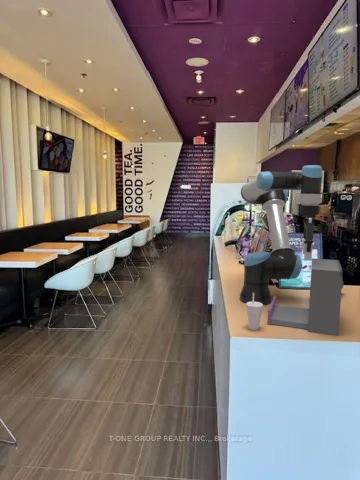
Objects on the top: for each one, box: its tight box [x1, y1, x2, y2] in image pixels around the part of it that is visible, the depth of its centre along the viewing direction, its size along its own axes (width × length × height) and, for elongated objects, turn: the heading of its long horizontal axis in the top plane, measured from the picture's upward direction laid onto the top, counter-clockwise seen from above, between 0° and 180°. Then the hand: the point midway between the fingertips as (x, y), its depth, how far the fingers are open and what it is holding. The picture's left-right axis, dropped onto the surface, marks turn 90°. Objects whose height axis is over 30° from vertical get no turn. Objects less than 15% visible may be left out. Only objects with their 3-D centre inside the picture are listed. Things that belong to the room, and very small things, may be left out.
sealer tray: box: [267, 296, 309, 330], centre depth 144 cm, size 16×20×6 cm
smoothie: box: [245, 293, 264, 331], centre depth 133 cm, size 6×6×14 cm
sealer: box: [307, 257, 344, 336], centre depth 138 cm, size 10×23×24 cm, turn 159°
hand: (306, 257), depth 142 cm, fingers open, 13 cm apart
